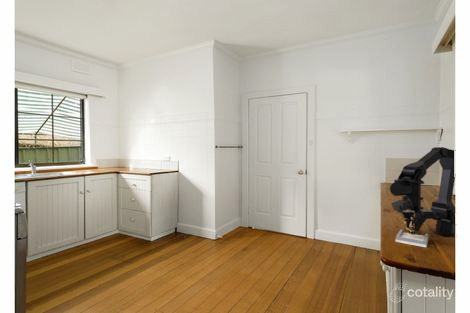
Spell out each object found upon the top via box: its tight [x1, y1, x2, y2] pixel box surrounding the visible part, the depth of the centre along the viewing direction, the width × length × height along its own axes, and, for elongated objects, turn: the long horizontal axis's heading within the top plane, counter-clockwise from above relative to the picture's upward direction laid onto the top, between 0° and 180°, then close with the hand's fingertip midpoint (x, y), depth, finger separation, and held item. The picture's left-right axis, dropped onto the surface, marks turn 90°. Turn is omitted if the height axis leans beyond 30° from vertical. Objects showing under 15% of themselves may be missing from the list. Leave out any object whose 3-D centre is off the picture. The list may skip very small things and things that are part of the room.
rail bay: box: [395, 228, 429, 248], centre depth 115 cm, size 13×11×2 cm
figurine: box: [403, 217, 417, 235], centre depth 115 cm, size 5×5×8 cm
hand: (412, 229), depth 115 cm, fingers closed on figurine, 4 cm apart
